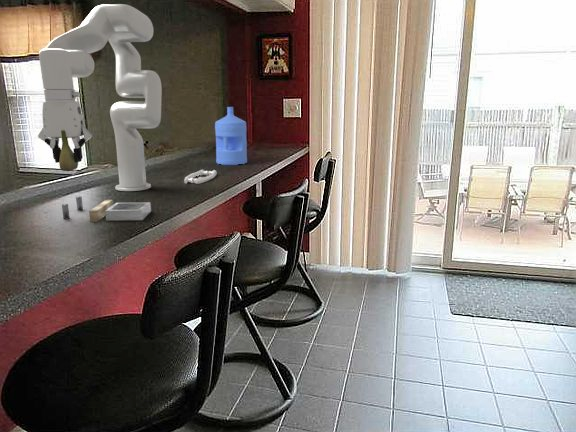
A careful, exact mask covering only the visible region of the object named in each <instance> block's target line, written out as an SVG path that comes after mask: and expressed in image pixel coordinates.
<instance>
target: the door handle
mask: <svg viewBox="0 0 576 432" xmlns="http://www.w3.org/2000/svg"><path fill="white" fill-rule="evenodd" d="M217 174H218V173H217V170H215V169H213V170H212V171H211V170H205V169H200V170H198V171H196V172H193V173H190V174H188V175H187V176H184V180H183V182H184V184H186V185H187V184H188V183H191V184H193V183H194V184H196V185H199V184H203V183H206V182H208V181H211V180H213V179H214V178H215V177H216V176H217ZM199 175H200V176H199ZM204 175H205V177H204ZM196 176H197V178H196ZM202 176H203V177H202Z"/></svg>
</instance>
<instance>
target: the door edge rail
mask: <svg viewBox="0 0 576 432" xmlns="http://www.w3.org/2000/svg"><path fill="white" fill-rule="evenodd" d="M112 205H114V200H113V199H105V200H104V201H102V202H101V203H99V204H97V205H96V206H95V207H93V208H91V209H90V210H89V211H88V214H89V216H88V217H89V222H93V223H95V222H99V221H101V220H102V219H103V218H104V217H106V215H105V210H107V209H108V208H110V207H111V206H112Z"/></svg>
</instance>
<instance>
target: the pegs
mask: <svg viewBox="0 0 576 432" xmlns="http://www.w3.org/2000/svg"><path fill="white" fill-rule="evenodd" d="M75 201H76V210H77V211H83V210H84V206H83V205H84V204H83V197H82V196H80V195H77V196H75ZM61 211H62V217H63V220H67V219H70V217H71V216H70V211H69V204H68V203H62V204H61Z"/></svg>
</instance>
